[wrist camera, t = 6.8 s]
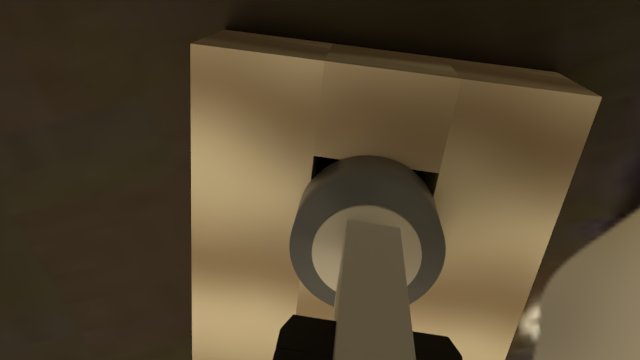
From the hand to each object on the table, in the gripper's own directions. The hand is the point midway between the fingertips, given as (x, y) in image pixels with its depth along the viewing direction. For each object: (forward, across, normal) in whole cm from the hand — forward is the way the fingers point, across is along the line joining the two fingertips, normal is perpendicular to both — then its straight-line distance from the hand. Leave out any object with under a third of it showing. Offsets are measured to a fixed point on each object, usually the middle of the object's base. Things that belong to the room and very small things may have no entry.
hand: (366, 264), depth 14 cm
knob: (+6, 0, 0) cm, 6 cm away
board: (+6, 0, -9) cm, 11 cm away
